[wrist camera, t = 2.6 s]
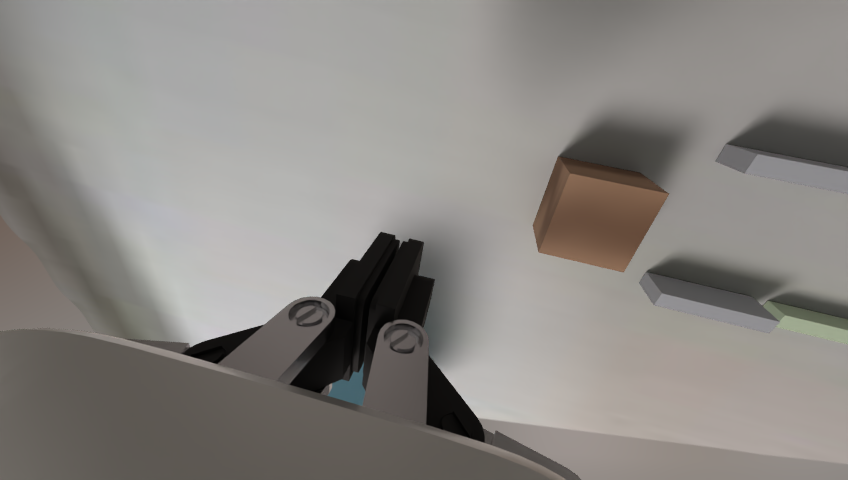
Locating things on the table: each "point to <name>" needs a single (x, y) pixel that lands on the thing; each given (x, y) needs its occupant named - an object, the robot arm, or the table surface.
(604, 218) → the walnut block
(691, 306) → the walled lane
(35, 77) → the table surface
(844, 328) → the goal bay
